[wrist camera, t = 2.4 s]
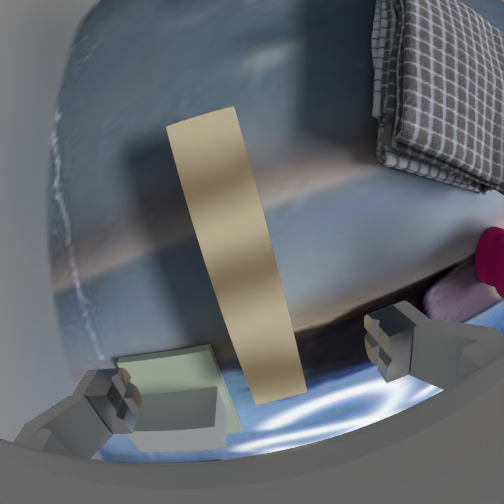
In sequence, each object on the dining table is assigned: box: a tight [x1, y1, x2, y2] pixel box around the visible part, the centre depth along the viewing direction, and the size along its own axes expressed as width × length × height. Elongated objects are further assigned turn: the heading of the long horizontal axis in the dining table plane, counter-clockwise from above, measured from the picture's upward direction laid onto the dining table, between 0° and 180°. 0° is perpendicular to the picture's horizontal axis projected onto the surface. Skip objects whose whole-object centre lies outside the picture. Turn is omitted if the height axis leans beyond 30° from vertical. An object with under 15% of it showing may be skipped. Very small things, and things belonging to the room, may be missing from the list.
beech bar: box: [166, 106, 307, 405], centre depth 19 cm, size 20×4×5 cm, turn 15°
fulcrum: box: [117, 344, 242, 452], centre depth 22 cm, size 11×9×6 cm
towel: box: [371, 0, 504, 195], centre depth 15 cm, size 15×18×8 cm
